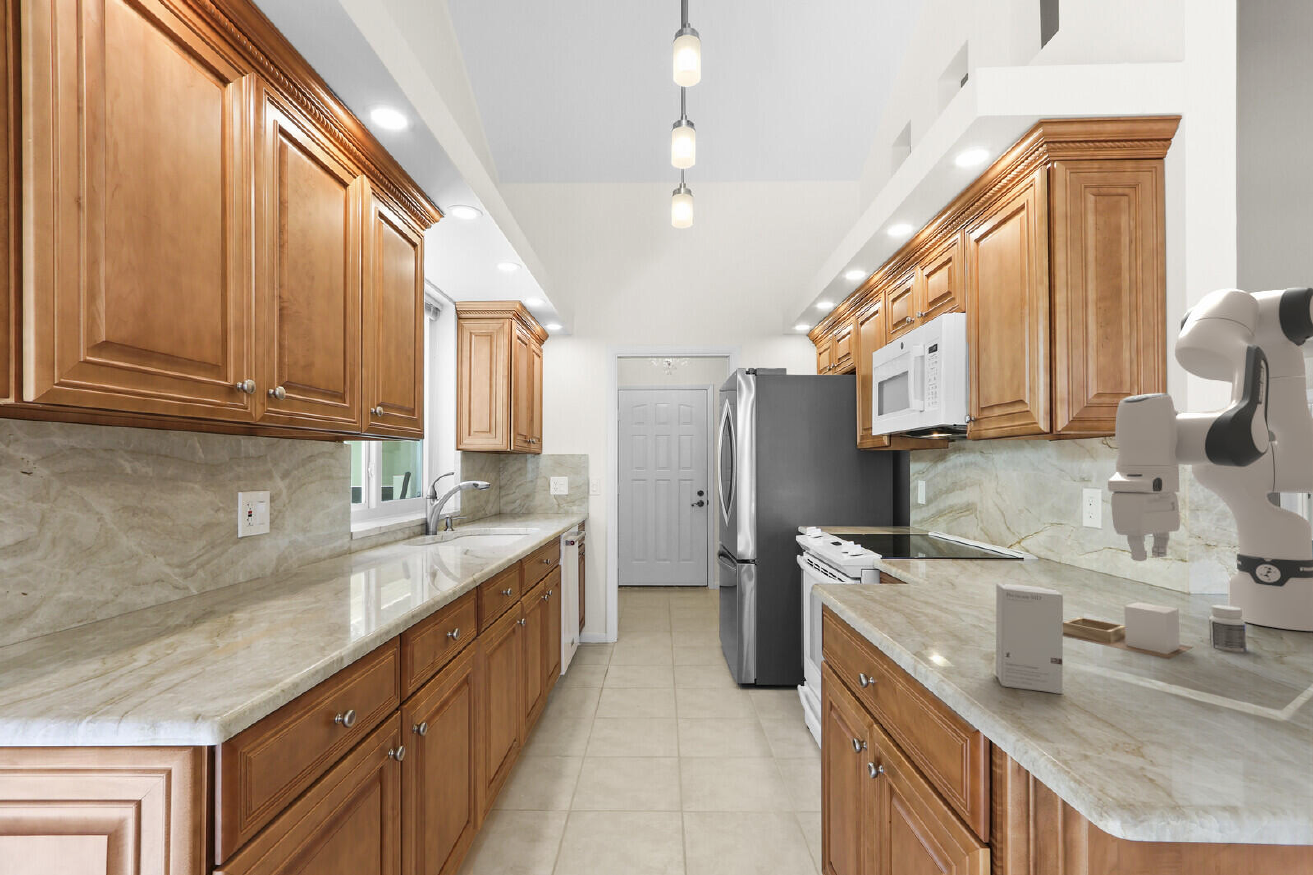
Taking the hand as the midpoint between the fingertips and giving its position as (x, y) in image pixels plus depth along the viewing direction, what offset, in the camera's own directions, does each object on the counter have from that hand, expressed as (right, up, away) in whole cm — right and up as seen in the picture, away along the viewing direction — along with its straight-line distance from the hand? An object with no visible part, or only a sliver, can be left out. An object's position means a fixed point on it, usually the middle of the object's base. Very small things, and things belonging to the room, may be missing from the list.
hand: (1149, 558), depth 108 cm
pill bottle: (+13, -17, -1) cm, 22 cm away
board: (-2, -17, +3) cm, 18 cm away
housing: (0, -16, -1) cm, 16 cm away
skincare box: (-32, -16, -16) cm, 39 cm away
